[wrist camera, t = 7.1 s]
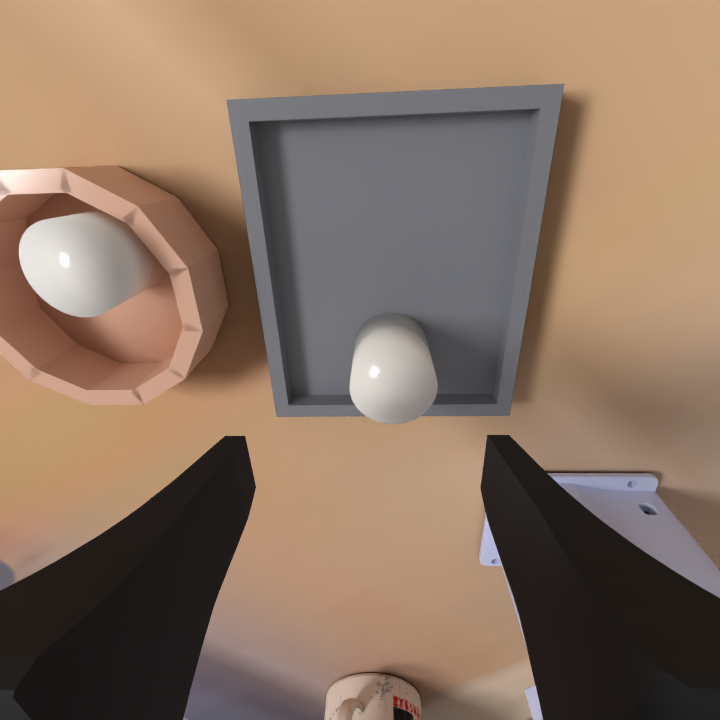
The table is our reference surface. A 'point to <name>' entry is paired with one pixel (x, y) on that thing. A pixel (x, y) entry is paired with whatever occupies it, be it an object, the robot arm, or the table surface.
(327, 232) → the parts tray
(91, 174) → the bowl
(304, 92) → the table surface
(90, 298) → the white egg
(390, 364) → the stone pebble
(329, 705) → the teacup with lid
